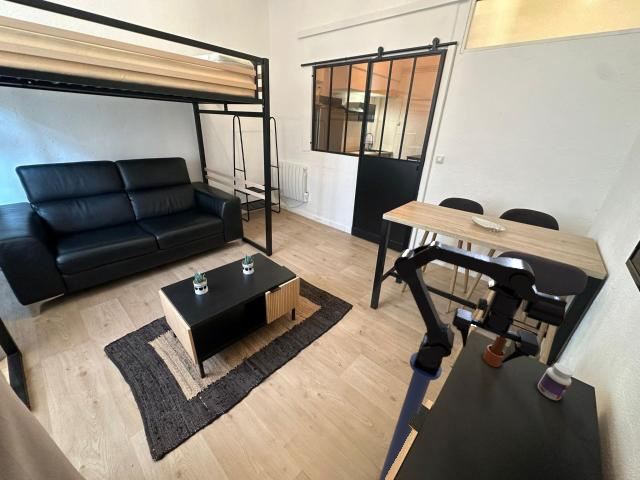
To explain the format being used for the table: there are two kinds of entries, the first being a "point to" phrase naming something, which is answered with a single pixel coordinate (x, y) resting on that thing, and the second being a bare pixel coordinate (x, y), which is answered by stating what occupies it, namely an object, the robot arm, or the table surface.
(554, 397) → the pill bottle
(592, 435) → the table surface
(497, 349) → the spice bottle
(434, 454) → the table surface
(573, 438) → the table surface
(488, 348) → the pot
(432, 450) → the table surface
